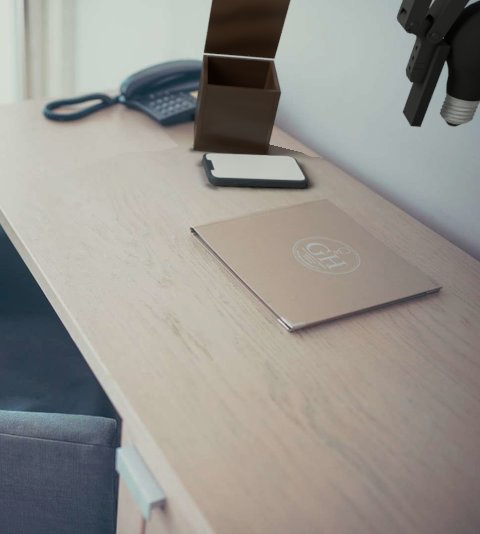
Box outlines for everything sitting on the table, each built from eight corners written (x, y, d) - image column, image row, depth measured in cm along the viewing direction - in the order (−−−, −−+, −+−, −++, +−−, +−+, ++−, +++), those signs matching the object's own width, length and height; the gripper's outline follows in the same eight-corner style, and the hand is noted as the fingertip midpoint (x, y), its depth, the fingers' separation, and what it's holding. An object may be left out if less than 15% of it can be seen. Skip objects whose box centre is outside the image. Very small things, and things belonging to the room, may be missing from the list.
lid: (296, -23, 102) (294, -54, 107) (216, -28, 103) (218, -58, 109) (274, 59, 115) (273, 27, 120) (203, 53, 116) (205, 22, 121)
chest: (266, 157, 111) (281, 92, 104) (193, 150, 112) (202, 85, 105) (260, 120, 123) (274, 60, 115) (194, 114, 124) (203, 54, 117)
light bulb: (448, 146, 50) (503, 14, 44) (398, 114, 54) (441, -10, 48) (508, 137, 51) (569, 7, 45) (454, 107, 56) (503, -15, 50)
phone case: (292, 163, 110) (200, 160, 110) (294, 155, 109) (201, 151, 109) (307, 190, 103) (209, 187, 103) (310, 182, 102) (210, 178, 102)
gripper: (454, -240, 36) (342, 133, 51) (821, -231, 35) (597, 154, 49) (419, -239, 42) (327, 95, 57) (731, -232, 40) (554, 112, 55)
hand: (453, 122), depth 53 cm, fingers closed on light bulb, 6 cm apart
